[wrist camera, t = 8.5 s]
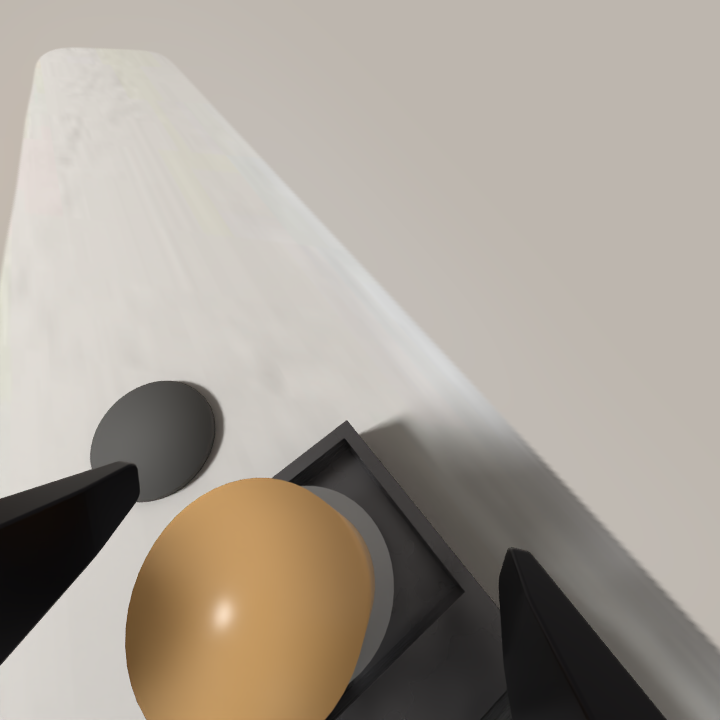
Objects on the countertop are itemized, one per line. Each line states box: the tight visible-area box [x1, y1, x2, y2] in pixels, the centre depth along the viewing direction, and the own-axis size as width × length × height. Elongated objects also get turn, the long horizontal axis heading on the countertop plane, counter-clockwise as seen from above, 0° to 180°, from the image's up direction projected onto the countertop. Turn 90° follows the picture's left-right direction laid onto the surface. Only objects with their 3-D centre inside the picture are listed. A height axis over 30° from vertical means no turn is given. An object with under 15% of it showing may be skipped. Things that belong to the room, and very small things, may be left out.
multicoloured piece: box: [125, 478, 394, 720], centre depth 10 cm, size 4×4×10 cm
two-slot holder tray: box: [272, 420, 512, 720], centre depth 12 cm, size 8×16×4 cm, turn 38°
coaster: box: [90, 381, 215, 502], centre depth 18 cm, size 6×6×1 cm
